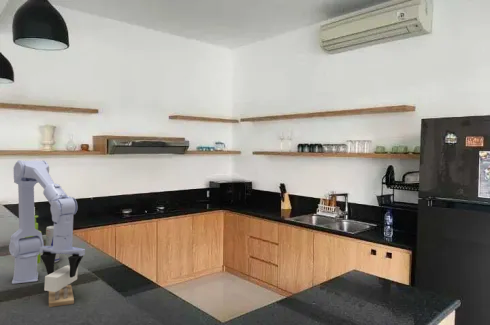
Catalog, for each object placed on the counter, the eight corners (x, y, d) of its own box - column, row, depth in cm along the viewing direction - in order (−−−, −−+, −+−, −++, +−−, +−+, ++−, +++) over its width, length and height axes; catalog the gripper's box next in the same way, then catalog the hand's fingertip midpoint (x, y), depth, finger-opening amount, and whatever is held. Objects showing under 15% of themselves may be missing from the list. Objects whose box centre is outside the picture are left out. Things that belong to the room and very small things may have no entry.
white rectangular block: (56, 291, 114) (57, 277, 114) (44, 290, 114) (45, 276, 114) (77, 279, 126) (78, 266, 126) (66, 277, 126) (67, 265, 126)
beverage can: (53, 264, 153) (54, 228, 152) (41, 262, 154) (43, 227, 153) (62, 260, 158) (63, 226, 158) (51, 259, 159) (52, 225, 159)
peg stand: (48, 291, 125) (49, 278, 124) (71, 288, 128) (71, 276, 128) (48, 307, 112) (49, 293, 112) (73, 303, 116) (74, 290, 116)
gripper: (90, 233, 123) (88, 273, 123) (49, 230, 124) (48, 270, 125) (79, 238, 116) (77, 280, 116) (36, 235, 117) (34, 276, 117)
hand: (61, 275), depth 120 cm, fingers open, 7 cm apart
